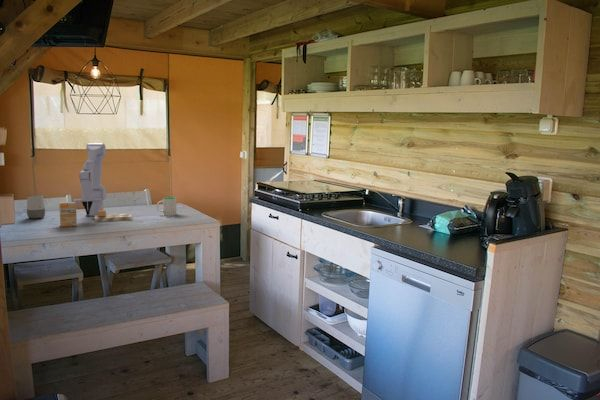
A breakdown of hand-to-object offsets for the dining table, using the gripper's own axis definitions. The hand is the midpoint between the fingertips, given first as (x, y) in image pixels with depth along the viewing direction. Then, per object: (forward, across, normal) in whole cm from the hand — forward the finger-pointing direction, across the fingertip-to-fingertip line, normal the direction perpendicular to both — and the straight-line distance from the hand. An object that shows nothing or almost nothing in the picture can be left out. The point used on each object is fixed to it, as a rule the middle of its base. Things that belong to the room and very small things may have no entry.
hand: (88, 214), depth 281 cm
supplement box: (+4, -10, -12) cm, 16 cm away
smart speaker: (+4, -28, +16) cm, 33 cm away
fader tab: (+1, +8, 0) cm, 8 cm away
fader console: (+4, +14, 0) cm, 14 cm away
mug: (+4, +46, +7) cm, 46 cm away
